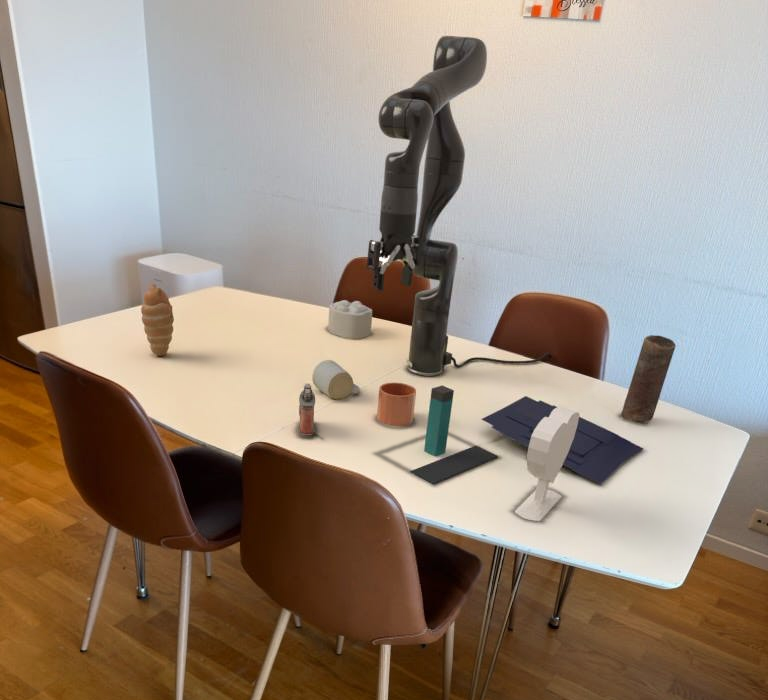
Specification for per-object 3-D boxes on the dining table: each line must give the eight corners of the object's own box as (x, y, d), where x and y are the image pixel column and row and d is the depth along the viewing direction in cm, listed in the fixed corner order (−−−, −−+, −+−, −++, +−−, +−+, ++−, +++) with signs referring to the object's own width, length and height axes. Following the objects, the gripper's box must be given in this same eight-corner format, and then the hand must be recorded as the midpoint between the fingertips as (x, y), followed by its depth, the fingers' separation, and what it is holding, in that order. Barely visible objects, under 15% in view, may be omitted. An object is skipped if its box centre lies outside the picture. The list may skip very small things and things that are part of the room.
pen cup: (394, 410, 167) (397, 380, 163) (420, 422, 162) (423, 391, 159) (369, 418, 162) (371, 387, 158) (394, 430, 157) (397, 399, 153)
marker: (434, 447, 151) (442, 385, 144) (445, 453, 149) (454, 390, 142) (423, 451, 149) (431, 388, 142) (435, 457, 147) (443, 393, 140)
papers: (526, 404, 174) (530, 390, 172) (639, 458, 161) (645, 444, 159) (473, 432, 157) (477, 417, 155) (595, 496, 144) (601, 481, 142)
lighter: (298, 422, 157) (299, 379, 152) (314, 422, 158) (315, 379, 152) (298, 438, 150) (299, 393, 145) (314, 438, 151) (315, 394, 146)
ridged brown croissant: (181, 359, 185) (176, 288, 175) (151, 362, 181) (144, 290, 171) (169, 348, 191) (164, 279, 181) (139, 351, 187) (133, 281, 177)
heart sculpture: (541, 484, 141) (560, 399, 132) (565, 492, 139) (586, 407, 130) (510, 516, 130) (528, 425, 120) (535, 525, 128) (556, 434, 118)
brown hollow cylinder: (652, 417, 177) (676, 338, 166) (652, 428, 171) (676, 347, 160) (621, 410, 179) (642, 332, 168) (619, 421, 173) (642, 340, 162)
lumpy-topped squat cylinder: (354, 340, 209) (356, 311, 205) (320, 330, 215) (321, 301, 210) (374, 333, 217) (377, 304, 212) (340, 323, 222) (342, 295, 218)
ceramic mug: (328, 403, 167) (330, 372, 163) (310, 391, 173) (312, 361, 169) (365, 397, 173) (368, 367, 169) (347, 385, 178) (349, 356, 174)
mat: (441, 430, 160) (442, 429, 159) (497, 457, 150) (498, 455, 150) (377, 453, 147) (377, 451, 147) (433, 484, 138) (433, 482, 137)
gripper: (387, 214, 141) (381, 296, 150) (435, 210, 150) (426, 287, 159) (361, 208, 146) (357, 288, 154) (409, 203, 155) (402, 279, 163)
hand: (392, 288), depth 157 cm, fingers open, 8 cm apart
